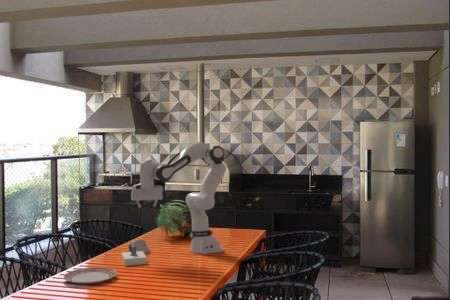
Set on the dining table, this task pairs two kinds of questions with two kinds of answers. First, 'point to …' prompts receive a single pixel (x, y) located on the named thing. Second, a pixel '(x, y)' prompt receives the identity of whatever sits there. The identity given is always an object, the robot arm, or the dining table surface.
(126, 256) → the grey block with hole
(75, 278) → the dinner plate
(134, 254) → the pin
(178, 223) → the plant
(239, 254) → the dining table surface
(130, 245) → the grey curved slotted block
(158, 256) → the dining table surface
